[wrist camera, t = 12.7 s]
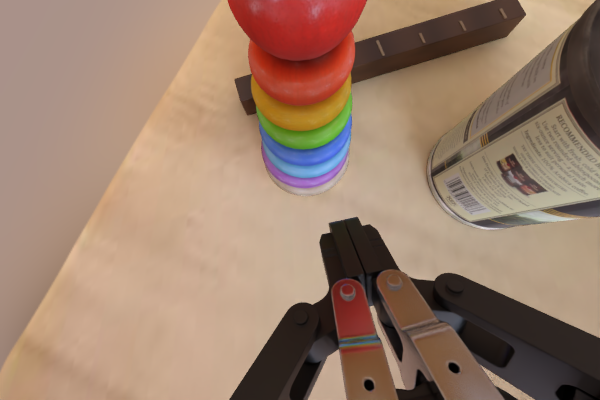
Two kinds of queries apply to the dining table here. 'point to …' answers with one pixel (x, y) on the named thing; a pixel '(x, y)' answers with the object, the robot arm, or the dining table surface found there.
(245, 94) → the straightedge
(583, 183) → the coffee can
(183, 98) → the dining table surface
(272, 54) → the stacking toy
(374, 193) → the dining table surface
